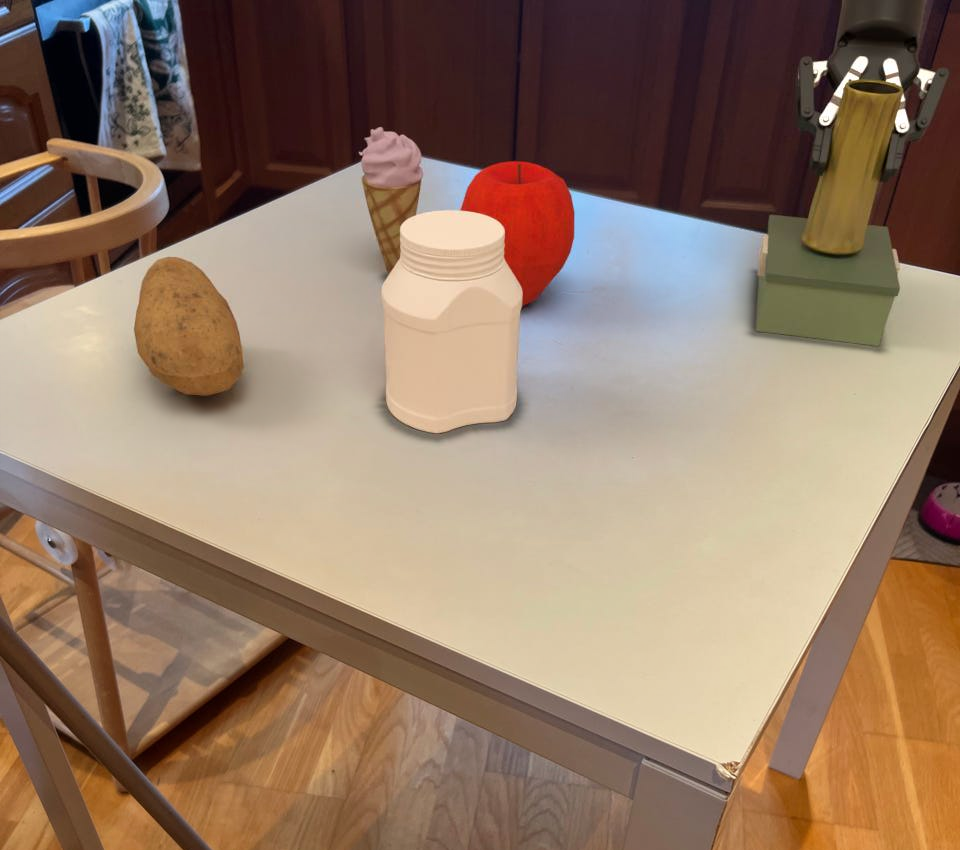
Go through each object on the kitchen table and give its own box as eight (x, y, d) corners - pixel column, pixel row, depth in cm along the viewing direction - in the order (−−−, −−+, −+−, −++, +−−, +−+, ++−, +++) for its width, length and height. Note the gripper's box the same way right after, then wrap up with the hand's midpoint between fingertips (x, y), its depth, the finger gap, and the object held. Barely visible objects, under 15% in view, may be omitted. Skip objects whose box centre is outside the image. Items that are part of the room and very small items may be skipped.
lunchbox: (875, 282, 107) (892, 227, 103) (886, 348, 96) (905, 288, 91) (753, 268, 109) (765, 213, 105) (748, 331, 98) (761, 272, 94)
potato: (152, 432, 81) (127, 326, 74) (141, 349, 92) (119, 250, 85) (256, 419, 83) (241, 314, 77) (234, 339, 94) (218, 241, 87)
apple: (590, 314, 100) (605, 177, 90) (487, 334, 96) (492, 192, 87) (536, 271, 107) (545, 141, 98) (439, 288, 103) (438, 153, 94)
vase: (856, 234, 100) (901, 79, 90) (868, 257, 96) (916, 97, 86) (797, 230, 101) (834, 76, 91) (805, 253, 96) (846, 93, 86)
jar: (490, 366, 91) (496, 200, 80) (532, 415, 84) (545, 242, 74) (372, 386, 87) (363, 215, 77) (407, 439, 81) (402, 261, 71)
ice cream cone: (352, 272, 106) (342, 122, 96) (395, 257, 109) (390, 111, 99) (392, 291, 102) (386, 138, 92) (435, 276, 106) (434, 125, 95)
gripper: (813, -32, 90) (782, 146, 89) (976, -21, 87) (944, 161, 87) (799, 23, 97) (770, 187, 97) (949, 34, 95) (919, 202, 95)
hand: (853, 174), depth 92 cm, fingers closed on vase, 5 cm apart
